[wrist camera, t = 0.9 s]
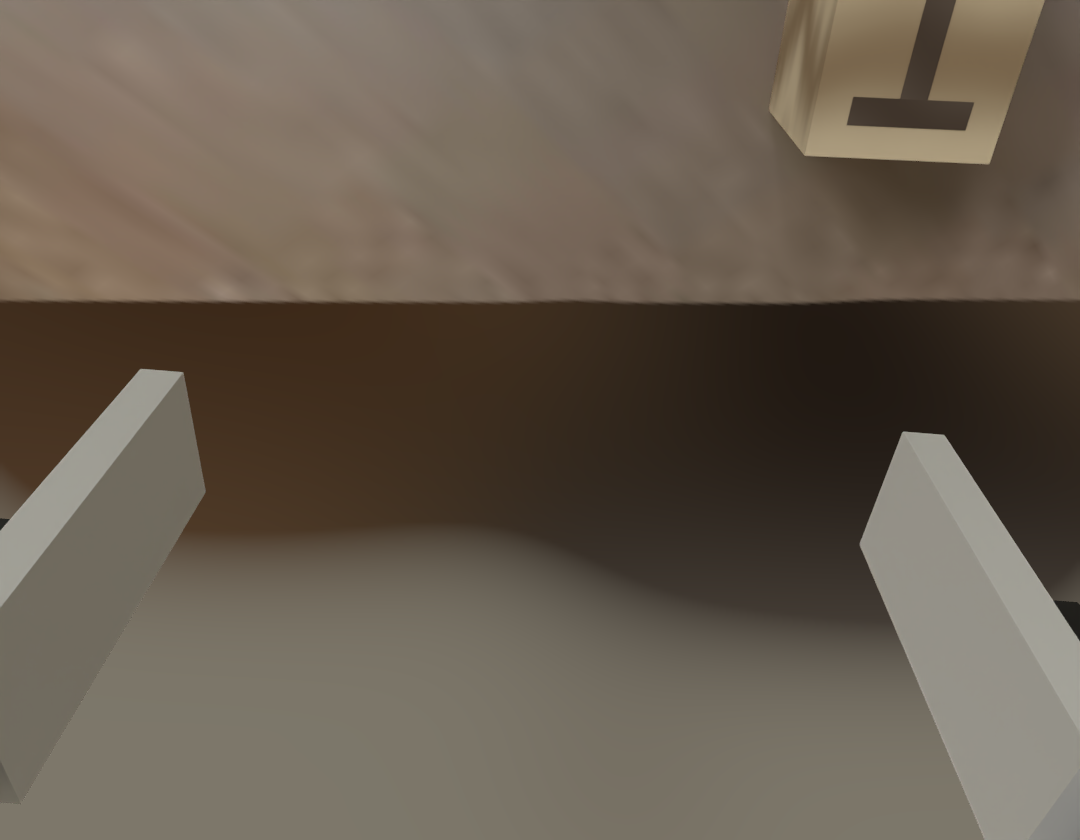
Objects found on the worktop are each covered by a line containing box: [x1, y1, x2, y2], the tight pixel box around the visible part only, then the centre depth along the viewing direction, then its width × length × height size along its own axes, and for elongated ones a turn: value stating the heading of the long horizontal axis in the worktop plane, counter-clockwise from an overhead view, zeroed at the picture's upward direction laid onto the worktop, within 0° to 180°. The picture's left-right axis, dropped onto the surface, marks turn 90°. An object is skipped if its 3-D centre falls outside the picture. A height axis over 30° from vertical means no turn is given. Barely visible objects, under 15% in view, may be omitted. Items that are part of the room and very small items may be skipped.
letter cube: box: [769, 0, 1045, 164], centre depth 33 cm, size 7×7×7 cm
